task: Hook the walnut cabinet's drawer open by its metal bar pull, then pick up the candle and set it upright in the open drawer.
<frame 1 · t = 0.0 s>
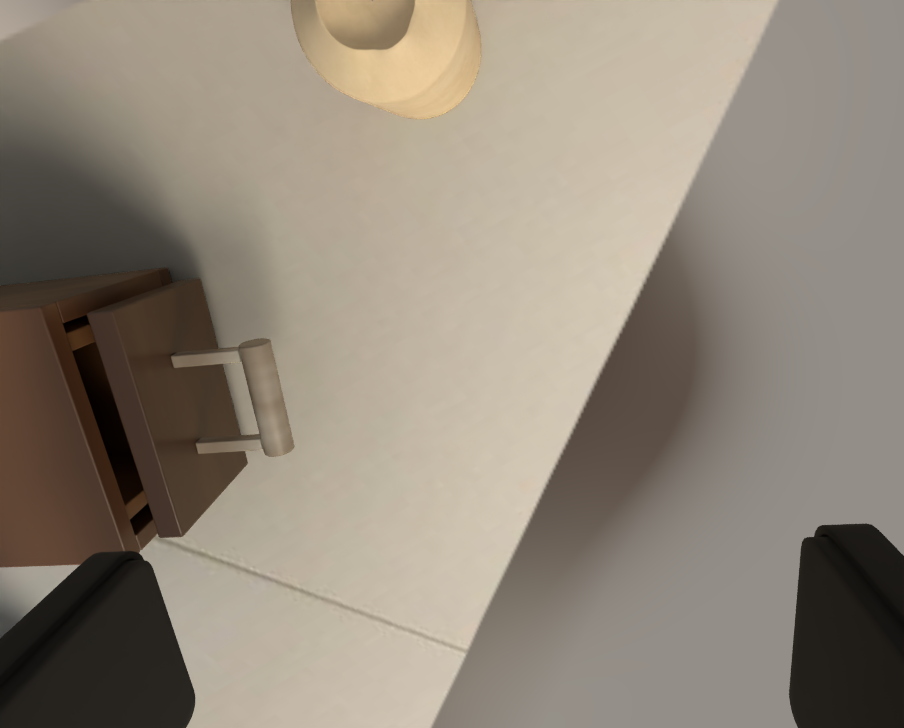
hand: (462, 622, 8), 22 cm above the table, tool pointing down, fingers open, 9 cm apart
cabinet: (77, 382, 33), on the table
drawer: (108, 406, 29), point 4 cm above the table, slide at 1.0 cm
candle: (421, 54, 26), on the table
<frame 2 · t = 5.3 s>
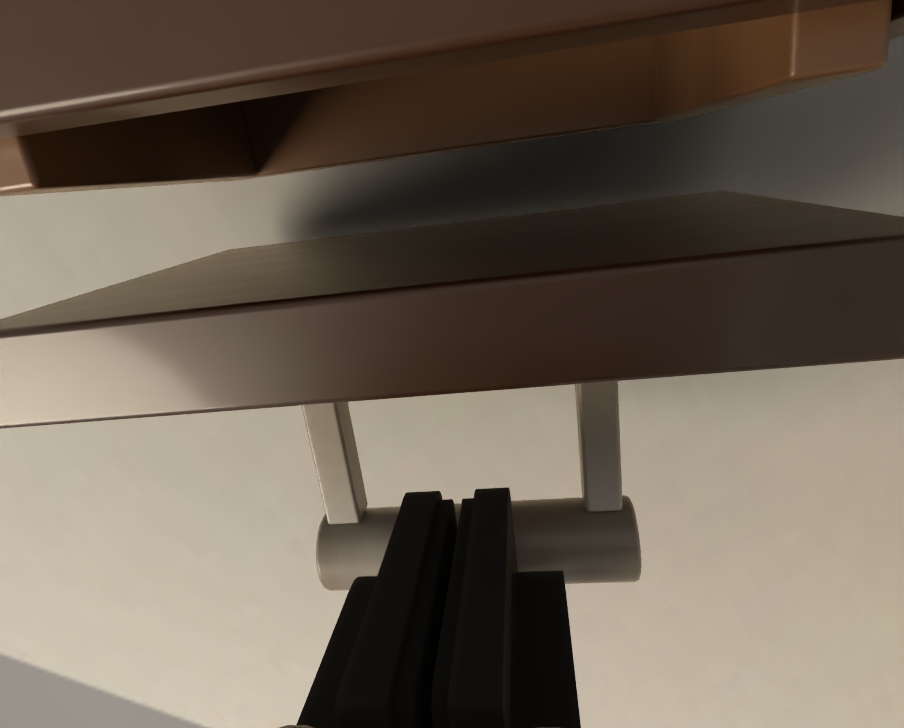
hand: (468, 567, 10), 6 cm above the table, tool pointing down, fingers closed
drawer: (409, 5, 8), point 4 cm above the table, slide at 1.9 cm, touching gripper
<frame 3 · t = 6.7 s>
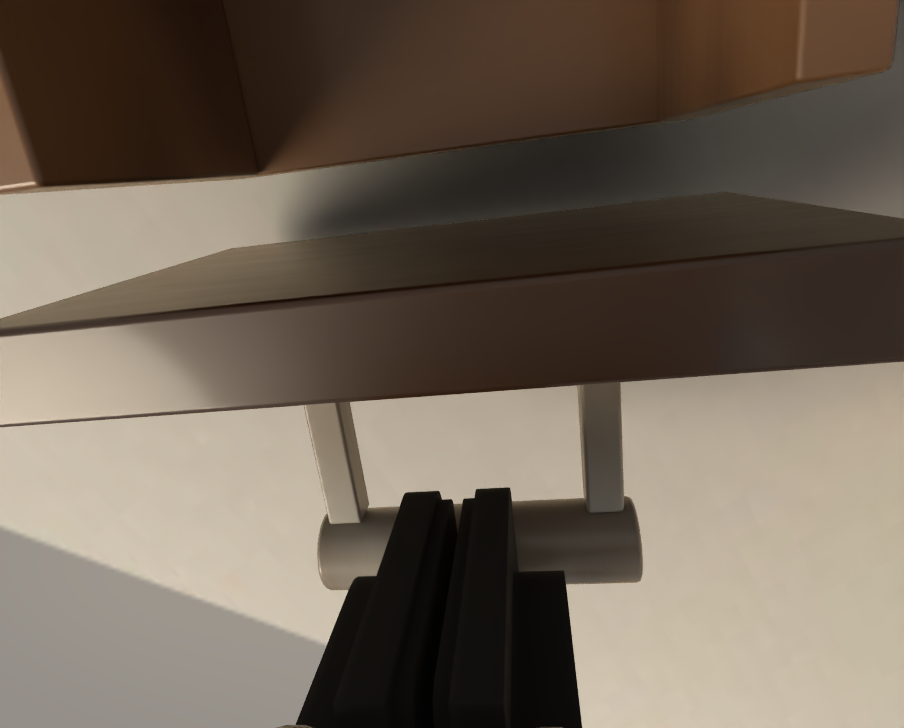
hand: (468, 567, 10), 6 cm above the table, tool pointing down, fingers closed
drawer: (413, 5, 8), point 4 cm above the table, slide at 7.7 cm, touching gripper
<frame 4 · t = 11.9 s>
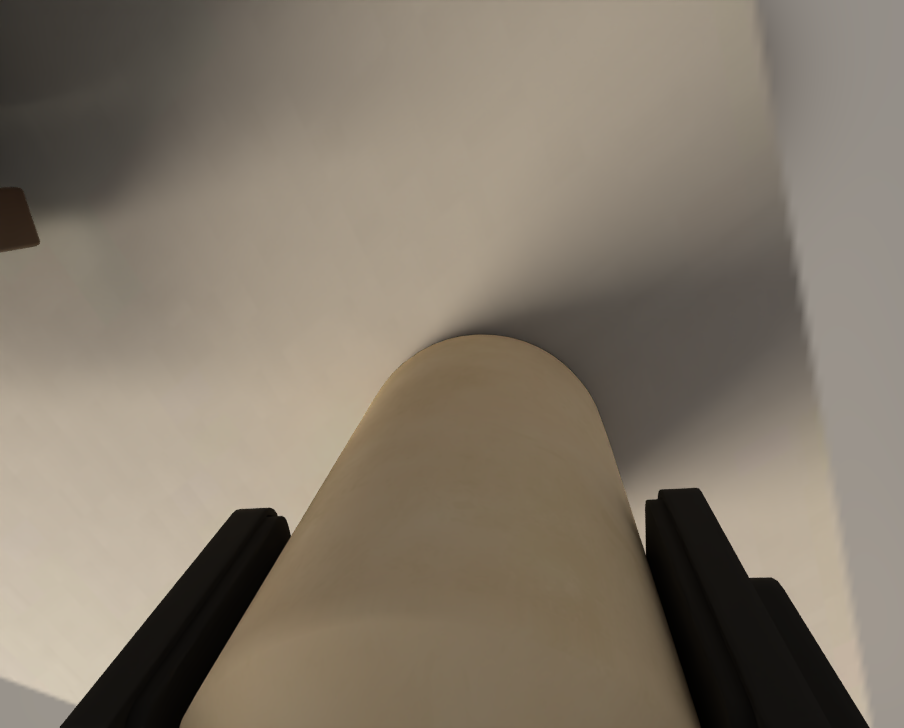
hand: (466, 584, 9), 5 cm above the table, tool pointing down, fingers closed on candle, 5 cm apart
candle: (484, 439, 14), on the table, touching gripper
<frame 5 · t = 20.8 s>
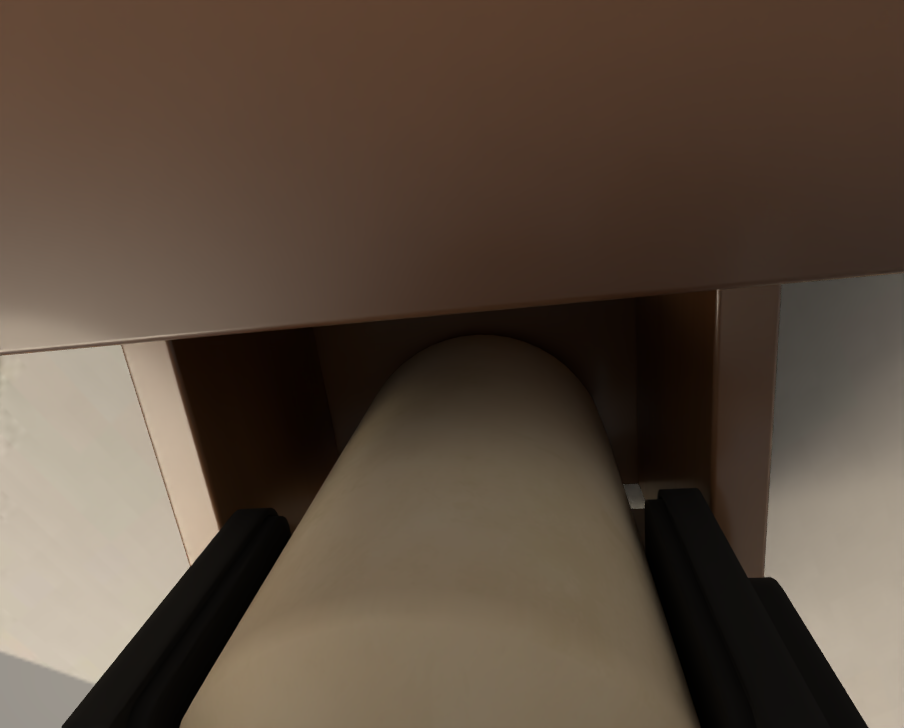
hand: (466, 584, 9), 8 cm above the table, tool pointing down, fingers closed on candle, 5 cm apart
drawer: (474, 473, 12), point 4 cm above the table, slide at 7.7 cm, touching gripper
candle: (484, 439, 14), point 2 cm above the table, touching gripper
when the fingers open (10 cm above the table, at t = 30.6 s): candle drops 3 cm, resting on drawer.
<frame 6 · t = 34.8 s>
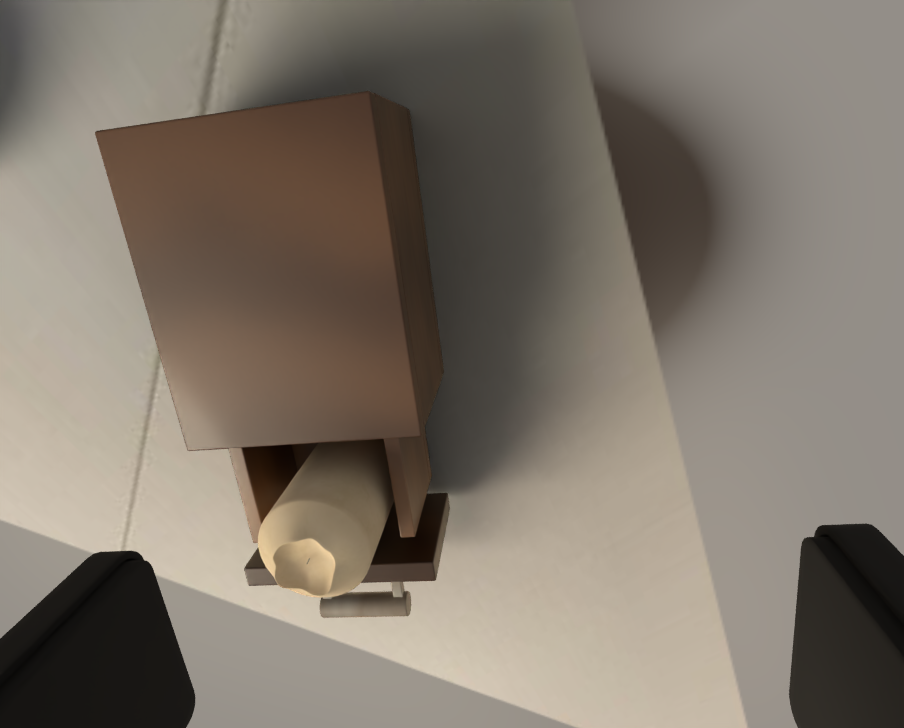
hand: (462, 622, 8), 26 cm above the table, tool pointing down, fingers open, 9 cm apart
cabinet: (328, 260, 34), on the table
drawer: (343, 479, 33), point 4 cm above the table, slide at 7.7 cm, touching candle
candle: (360, 461, 36), point 2 cm above the table, touching drawer
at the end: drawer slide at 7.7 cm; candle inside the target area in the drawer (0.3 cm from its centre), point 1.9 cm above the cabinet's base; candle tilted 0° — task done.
